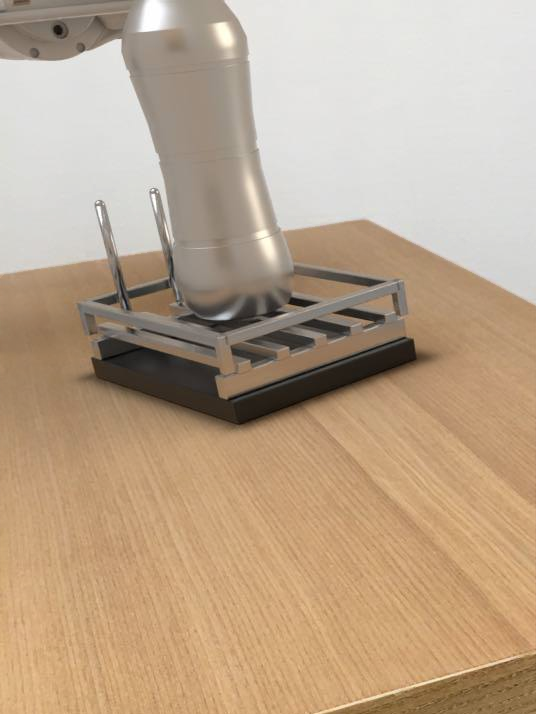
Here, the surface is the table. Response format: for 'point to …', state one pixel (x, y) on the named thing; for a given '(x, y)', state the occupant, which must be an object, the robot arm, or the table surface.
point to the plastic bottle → (208, 156)
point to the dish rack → (243, 340)
